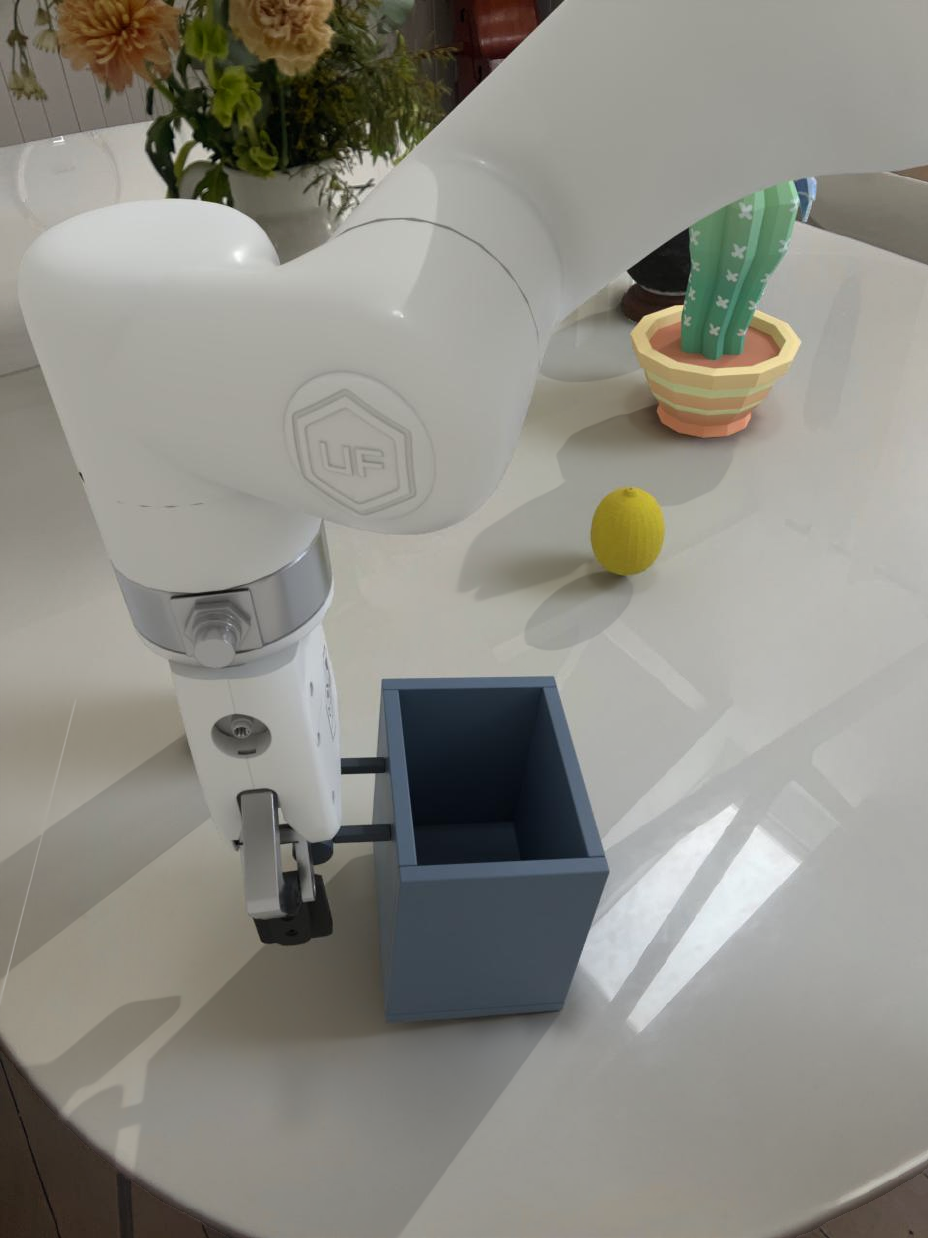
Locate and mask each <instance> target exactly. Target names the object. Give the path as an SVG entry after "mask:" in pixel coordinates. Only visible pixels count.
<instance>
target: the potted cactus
mask: <svg viewBox="0 0 928 1238" xmlns="http://www.w3.org/2000/svg"><path fill="white" fill-rule="evenodd" d="M817 183H818V182H817V179H816V178H815V177H808V178H802V179H797V180H792V181H788V182H784V183H781V184H778V185H774V186H772V187H769V188H766V189H764V190H761V191H758V192H755V193H753V194H750V195H748V196H746V197H744V198H742V199H739V200H737V201H735V202H733V203H731V204H729V205H727V206H725V207H723V208H721V209H719V210H717V211H716V212H714V213H712V214H710V215H708V216H707V217H705V218H703V219H701V220H699V221H698V222H696V223H695V224H693V225H692V226H690V227H689V236H690V246H689V247H690V256H691V264H692V266H691V271H690V276H689V281H688V286H687V291H686V296H685V301H684V305H678V306H672V307H670V308H667V309H664V310H661V311H658V312H655V313H652V314H649V315H646V316H644V317H643V318H642V319H641V321H640V322H637V324H636V325H635V327H634V328H633V329H632V330H631V331H630V340H631V346H632V347H631V348H632V350H633V352H634V354H635V357H636V359H637V361H638V364H639V366H640V367H641V368H643V371H644V375H645V379H646V381H647V383H648V386H649V389H650V391H651V393H652V395H653V397H654V398H655V400H656V401H657V402H658V406H657V409H656V413H657V415H658V417H659V420H660V422H661V423H662V424H663V425H664V426H666V427H668V428H670V429H671V430H673V431H675V432H677V433H678V434H681V435H682V434H683V435H688V436H692V437H698V438H703V439H704V438H705V439H706V438H719V437H720V438H722V437H729V436H731V435H734V434H736V433H738V432H740V431H743V430H745V429H746V428H747V426H748V424H749V422H750V420H751V419H752V412H753V411H754V410H755V409H756V408H757V407H758V406H760V405H761V404H762V403H763V402H764V401H765V399H766V398H767V396H768V395H769V393H770V391H771V390H772V388H773V386H774V385H775V383H776V381H777V380H778V379H780V378H781V377H784V376H786V375H787V373H788V371H789V369H790V367H791V366H792V364H793V361H794V359H795V357H796V355H797V353H798V351H799V349H800V346H801V345H802V340H801V339H800V338H799V336H798V335H797V334H796V332H795V331H794V330H793V328H792V327H791V325H790V324H789V323H788V322H786V321H784V320H781V319H779V318H776V317H775V316H772V315H770V314H767V313H765V312H762V311H761V310H758V309H757V308H758V306H759V303H760V301H761V298H762V295H763V293H764V290H765V288H766V285H767V283H768V281H769V280H770V278H771V277H772V275H773V273H774V272H775V270H776V269H777V267H778V266H779V264H780V263H781V261H782V260H783V259H784V257H785V255H786V253H787V252H788V249H789V245H790V242H791V238H792V234H793V229H794V225H795V222H796V219H797V215H798V211H799V207H800V212H801V214H800V215H801V222H802V223H807V222H808V219H809V216H810V213H811V209H812V206H813V202H815V201H816V199H817V185H818V184H817Z"/></svg>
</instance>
